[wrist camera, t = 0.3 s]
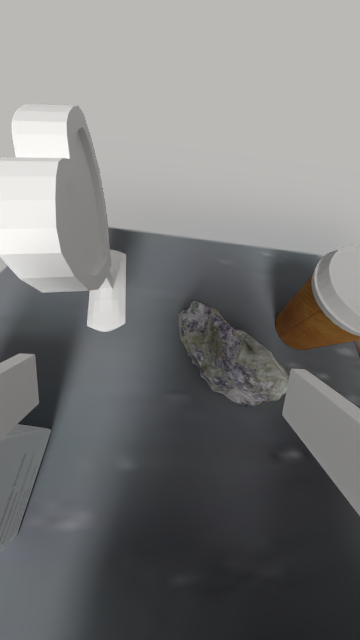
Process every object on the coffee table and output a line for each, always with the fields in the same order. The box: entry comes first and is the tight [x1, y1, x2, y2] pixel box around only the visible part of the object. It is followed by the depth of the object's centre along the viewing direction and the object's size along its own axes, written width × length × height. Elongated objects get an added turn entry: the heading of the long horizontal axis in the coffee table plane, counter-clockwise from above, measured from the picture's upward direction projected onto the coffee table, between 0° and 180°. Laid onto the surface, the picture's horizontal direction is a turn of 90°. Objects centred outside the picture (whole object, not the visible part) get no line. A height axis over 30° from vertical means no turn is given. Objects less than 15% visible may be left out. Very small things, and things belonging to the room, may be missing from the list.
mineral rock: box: [178, 301, 289, 406], centre depth 22 cm, size 13×11×10 cm
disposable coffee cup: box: [275, 245, 360, 350], centre depth 24 cm, size 10×10×12 cm
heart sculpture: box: [0, 104, 126, 332], centre depth 21 cm, size 16×5×18 cm, turn 5°
